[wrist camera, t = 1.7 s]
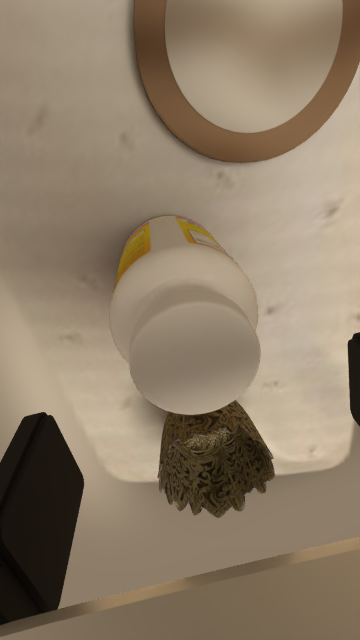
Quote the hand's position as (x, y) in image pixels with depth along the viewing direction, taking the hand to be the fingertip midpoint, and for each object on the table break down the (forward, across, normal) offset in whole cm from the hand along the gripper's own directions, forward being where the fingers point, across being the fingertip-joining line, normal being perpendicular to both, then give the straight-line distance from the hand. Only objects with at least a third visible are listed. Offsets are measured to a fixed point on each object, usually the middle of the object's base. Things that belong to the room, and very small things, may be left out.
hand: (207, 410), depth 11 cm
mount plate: (+14, -7, -12) cm, 20 cm away
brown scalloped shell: (+15, +1, +11) cm, 19 cm away
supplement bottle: (+15, 0, -1) cm, 15 cm away
